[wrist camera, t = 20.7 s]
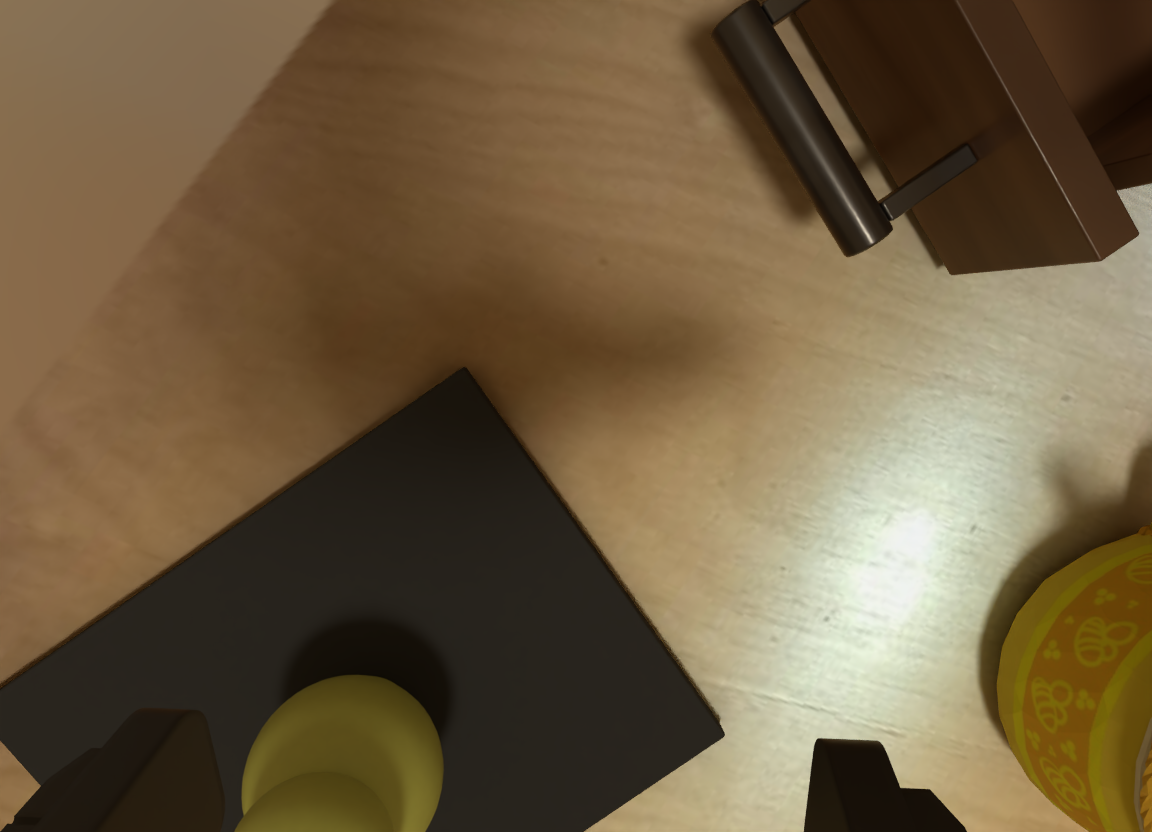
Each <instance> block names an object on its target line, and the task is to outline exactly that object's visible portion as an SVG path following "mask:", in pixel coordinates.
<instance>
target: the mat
mask: <svg viewBox="0 0 1152 832" xmlns="http://www.w3.org/2000/svg"><path fill="white" fill-rule="evenodd" d="M343 675H367V676H377V677H381V678H384V679H387V680H389V681H391V682H393V683H395V684H396V685H398V686H399V687H401V688H402V689H404V690H405V691H407V692H408V693H409V694H411V695H412V696H413V697H414V698H415V699H416V700H417V701H418V702H419V703H420V704H421V705H422V706H423V707H424V709H425V710H426V712H427V713H428V715H429V716H430V718H431V720H432V722H433V724H434V726H435V728H436V730H437V733H438V736H439V739H440V743H441V748H442V754H443V765H444V772H443V783H442V791H441V794H440V798H439V802H438V805H437V809H436V811H435V814H434V816H433V818H432V820H431V822H430V824H429V826H428V828H427V830H426V831H425V832H584V831H585V830H586V829H588V828H589V827H591V826H592V825H594V824H595V823H597V822H598V821H600V820H601V819H603V818H604V817H606V816H607V815H609V814H610V813H612V812H613V811H615V810H616V809H618V808H619V807H621V806H622V805H624V804H625V803H627V802H628V801H629V800H631V799H632V798H634V797H635V796H637V795H638V794H640V793H641V792H643V791H644V790H646V789H647V788H649V787H650V786H652V785H653V784H655V783H656V782H658V781H659V780H661V779H662V778H664V777H665V776H667V775H668V774H670V773H671V772H673V771H674V770H675V769H677V768H678V767H680V766H681V765H683V764H684V763H686V762H687V761H689V760H690V759H692V758H693V757H695V756H696V755H698V754H699V753H701V752H702V751H704V750H705V749H707V748H708V747H710V746H711V745H713V744H714V743H716V742H717V741H719V740H720V739H721V738H723V737H724V736H725V733H724V731H723V729H722V727H721V725H720V723H719V722H718V720H717V719H716V717H715V716H714V715H713V713H712V712H711V710H710V709H709V708H708V706H707V705H706V703H705V702H704V701H703V699H702V698H701V696H700V695H699V694H698V692H697V691H696V689H695V688H694V687H693V685H692V684H691V682H690V681H689V680H688V678H687V677H686V675H685V674H684V673H683V671H682V670H681V668H680V667H679V666H678V664H677V663H676V661H675V660H674V659H673V657H672V656H671V654H670V653H669V652H668V650H667V649H666V647H665V646H664V645H663V643H662V642H661V640H660V639H659V637H658V636H657V635H656V633H655V632H654V630H653V629H652V628H651V626H650V625H649V623H648V622H647V621H646V619H645V618H644V616H643V615H642V614H641V612H640V611H639V609H638V608H637V607H636V605H635V604H634V602H633V601H632V600H631V598H630V597H629V595H628V594H627V593H626V591H625V590H624V588H623V587H622V586H621V584H620V583H619V581H618V580H617V579H616V577H615V576H614V574H613V573H612V572H611V570H610V569H609V567H608V566H607V565H606V563H605V562H604V560H603V559H602V558H601V556H600V555H599V553H598V552H597V551H596V549H595V548H594V546H593V545H592V544H591V542H590V541H589V539H588V538H587V537H586V535H585V534H584V532H583V531H582V530H581V528H580V527H579V525H578V524H577V522H576V521H575V520H574V518H573V517H572V515H571V514H570V513H569V511H568V510H567V508H566V507H565V506H564V504H563V503H562V501H561V500H560V499H559V497H558V496H557V494H556V493H555V492H554V490H553V489H552V487H551V486H550V485H549V483H548V482H547V480H546V479H545V478H544V476H543V475H542V473H541V472H540V471H539V469H538V468H537V466H536V465H535V464H534V462H533V461H532V459H531V458H530V457H529V455H528V454H527V452H526V451H525V450H524V448H523V447H522V445H521V444H520V443H519V441H518V440H517V438H516V437H515V436H514V434H513V433H512V431H511V430H510V429H509V427H508V426H507V424H506V423H505V422H504V420H503V419H502V417H501V416H500V414H499V413H498V412H497V410H496V409H495V407H494V406H493V405H492V403H491V402H490V400H489V399H488V398H487V396H486V395H485V393H484V392H483V391H482V389H481V388H480V386H479V385H478V384H477V382H476V381H475V379H474V378H473V377H472V375H471V374H470V372H469V371H468V370H467V368H465V367H463V368H461V369H460V370H458V371H457V372H455V373H454V374H452V375H451V376H450V377H448V378H447V379H445V380H444V381H442V382H441V383H440V384H438V385H437V386H435V387H434V388H432V389H431V390H429V391H428V392H427V393H425V394H424V395H422V396H421V397H419V398H418V399H417V400H415V401H414V402H412V403H411V404H409V405H408V406H406V407H405V408H404V409H402V410H401V411H399V412H398V413H396V414H395V415H393V416H392V417H391V418H389V419H388V420H386V421H385V422H383V423H382V424H381V425H379V426H378V427H376V428H375V429H373V430H372V431H370V432H369V433H368V434H366V435H365V436H363V437H362V438H360V439H359V440H358V441H356V442H355V443H353V444H352V445H350V446H349V447H347V448H346V449H345V450H343V451H342V452H340V453H339V454H337V455H336V456H335V457H333V458H332V459H330V460H329V461H327V462H326V463H324V464H323V465H322V466H320V467H319V468H317V469H316V470H314V471H313V472H312V473H310V474H309V475H307V476H306V477H304V478H303V479H301V480H300V481H299V482H297V483H296V484H294V485H293V486H291V487H290V488H289V489H287V490H286V491H284V492H283V493H281V494H280V495H278V496H277V497H276V498H274V499H273V500H271V501H270V502H268V503H267V504H266V505H264V506H263V507H261V508H260V509H258V510H257V511H255V512H254V513H253V514H251V515H250V516H248V517H247V518H245V519H244V520H243V521H241V522H240V523H238V524H237V525H235V526H234V527H232V528H231V529H230V530H228V531H227V532H225V533H224V534H222V535H221V536H220V537H218V538H217V539H215V540H214V541H212V542H211V543H209V544H208V545H207V546H205V547H204V548H202V549H201V550H199V551H198V552H197V553H195V554H194V555H192V556H191V557H189V558H188V559H186V560H185V561H184V562H182V563H181V564H179V565H178V566H176V567H175V568H174V569H172V570H171V571H169V572H168V573H166V574H165V575H163V576H162V577H161V578H159V579H158V580H156V581H155V582H153V583H152V584H150V585H149V586H148V587H146V588H145V589H143V590H142V591H140V592H139V593H138V594H136V595H135V596H133V597H132V598H130V599H129V600H127V601H126V602H125V603H123V604H122V605H120V606H119V607H117V608H116V609H115V610H113V611H112V612H110V613H109V614H107V615H106V616H104V617H103V618H102V619H100V620H99V621H97V622H96V623H94V624H93V625H92V626H90V627H89V628H87V629H86V630H84V631H83V632H81V633H80V634H79V635H77V636H76V637H74V638H73V639H71V640H70V641H69V642H67V643H66V644H64V645H63V646H61V647H60V648H58V649H57V650H56V651H54V652H53V653H51V654H50V655H48V656H47V657H46V658H44V659H43V660H41V661H40V662H38V663H37V664H35V665H34V666H33V667H31V668H30V669H28V670H27V671H25V672H24V673H23V674H21V675H20V676H18V677H17V678H15V679H14V680H12V681H11V682H10V683H8V684H7V685H5V686H4V687H2V688H1V689H0V741H1V742H2V743H3V744H4V745H5V746H6V747H7V748H8V750H9V751H10V752H11V753H12V754H13V755H14V756H15V757H16V759H17V760H18V761H19V762H20V763H21V764H22V765H23V766H24V768H25V769H26V770H27V771H28V772H29V773H30V774H31V775H32V776H33V778H34V779H35V780H36V781H37V782H38V783H39V784H40V785H41V786H42V785H43V784H44V783H45V781H46V780H47V779H48V778H50V777H51V776H53V775H54V774H55V773H57V772H58V771H60V770H61V769H62V768H64V767H65V766H67V765H68V764H69V763H71V762H72V761H74V760H75V759H76V758H78V757H79V756H81V755H82V754H83V753H85V752H86V751H88V750H89V749H90V748H102V747H103V746H104V745H105V743H106V742H107V741H108V740H109V739H110V738H111V736H112V735H113V734H114V733H115V732H116V731H117V729H118V728H119V727H120V726H121V725H122V724H123V722H124V721H125V720H126V719H127V718H128V717H129V716H130V715H131V714H132V713H133V712H135V711H136V710H138V709H140V708H163V709H187V710H199V711H201V712H202V713H203V714H204V716H205V717H206V720H207V723H208V727H209V731H210V735H211V739H212V744H213V748H214V752H215V756H216V760H217V764H218V769H219V773H220V777H221V781H222V785H223V789H224V794H225V813H224V819H223V824H222V828H221V831H220V832H234V831H235V829H236V827H237V826H238V824H239V822H240V821H241V819H242V818H243V817H244V814H243V810H242V781H243V774H244V770H245V766H246V762H247V758H248V755H249V753H250V750H251V748H252V745H253V743H254V742H255V740H256V738H257V736H258V734H259V732H260V730H261V729H262V727H263V726H264V725H265V723H266V722H267V721H268V719H269V718H270V717H271V716H272V714H273V713H274V712H275V711H276V710H277V709H278V708H279V707H280V706H281V705H282V704H283V703H285V702H286V701H287V700H288V699H290V698H291V697H292V696H293V695H295V694H296V693H297V692H299V691H301V690H303V689H304V688H306V687H308V686H310V685H312V684H315V683H317V682H319V681H322V680H325V679H328V678H332V677H337V676H343Z"/></svg>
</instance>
